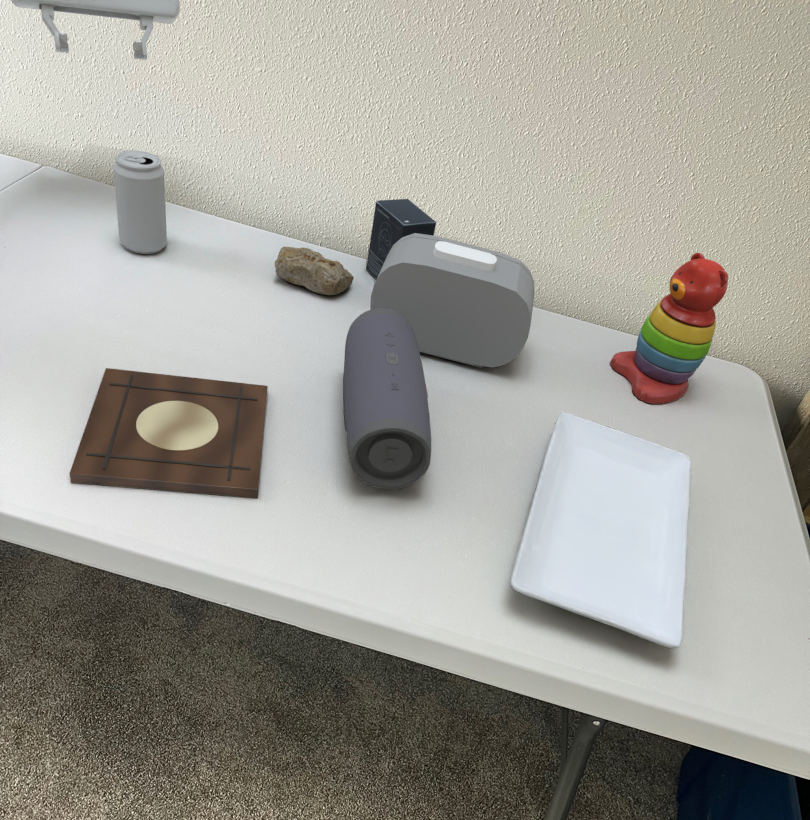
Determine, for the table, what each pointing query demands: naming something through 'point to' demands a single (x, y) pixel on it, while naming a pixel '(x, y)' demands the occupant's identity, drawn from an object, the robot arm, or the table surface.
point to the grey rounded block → (458, 298)
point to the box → (394, 229)
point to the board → (173, 434)
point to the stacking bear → (675, 333)
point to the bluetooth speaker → (385, 401)
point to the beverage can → (140, 201)
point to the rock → (312, 271)
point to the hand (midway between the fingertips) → (102, 55)
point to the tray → (609, 530)
